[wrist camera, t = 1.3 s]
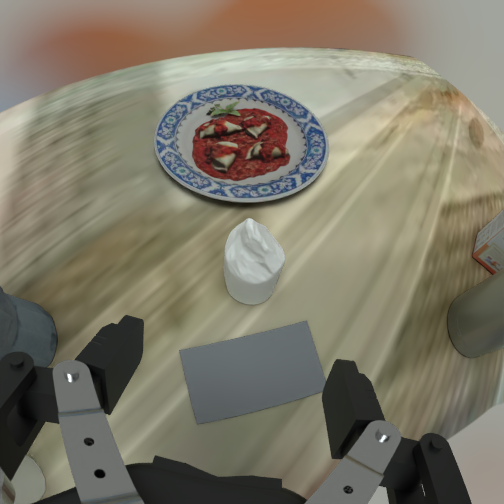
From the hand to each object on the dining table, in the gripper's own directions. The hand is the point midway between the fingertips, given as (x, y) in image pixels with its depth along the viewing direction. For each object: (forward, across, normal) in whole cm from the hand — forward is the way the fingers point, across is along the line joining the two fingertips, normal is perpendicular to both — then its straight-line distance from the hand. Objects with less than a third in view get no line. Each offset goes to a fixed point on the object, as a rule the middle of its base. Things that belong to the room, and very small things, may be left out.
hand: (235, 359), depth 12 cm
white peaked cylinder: (+23, 0, +6) cm, 24 cm away
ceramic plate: (+38, +5, -9) cm, 40 cm away
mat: (+16, -3, +13) cm, 21 cm away
